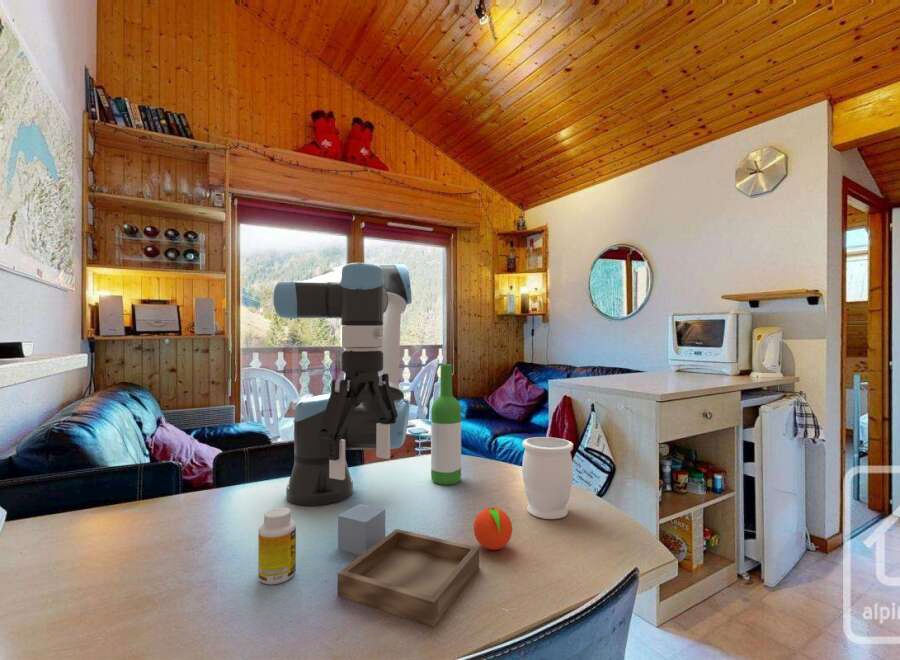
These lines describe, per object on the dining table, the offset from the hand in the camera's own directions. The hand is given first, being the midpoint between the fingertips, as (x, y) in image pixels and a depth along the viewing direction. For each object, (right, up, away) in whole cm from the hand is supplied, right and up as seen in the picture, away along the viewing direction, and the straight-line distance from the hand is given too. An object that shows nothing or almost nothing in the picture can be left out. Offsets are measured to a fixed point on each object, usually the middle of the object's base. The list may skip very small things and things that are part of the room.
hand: (361, 467), depth 80 cm
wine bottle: (+15, -14, +34) cm, 40 cm away
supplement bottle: (-11, -14, -10) cm, 21 cm away
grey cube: (0, -14, 0) cm, 14 cm away
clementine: (+24, -15, -1) cm, 28 cm away
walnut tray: (+10, -14, -11) cm, 21 cm away
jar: (+37, -14, +15) cm, 42 cm away
